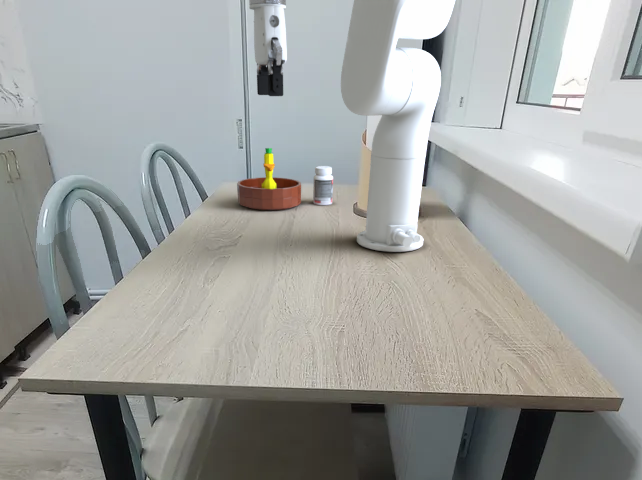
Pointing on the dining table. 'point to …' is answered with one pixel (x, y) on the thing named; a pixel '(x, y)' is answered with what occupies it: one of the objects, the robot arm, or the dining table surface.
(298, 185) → the bowl
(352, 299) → the dining table surface
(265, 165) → the toy figure
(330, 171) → the pill bottle
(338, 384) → the dining table surface
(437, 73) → the robot arm
